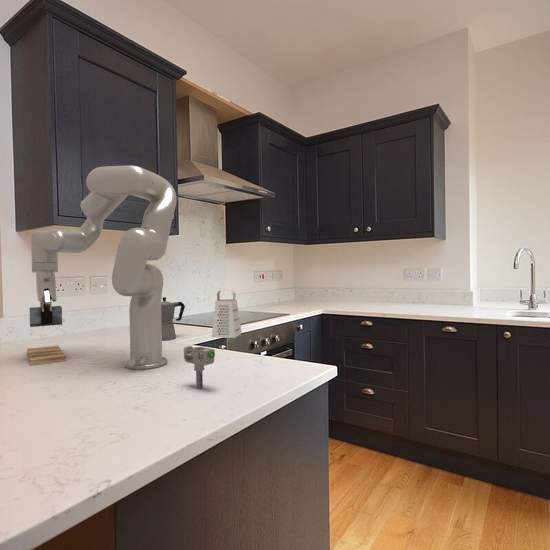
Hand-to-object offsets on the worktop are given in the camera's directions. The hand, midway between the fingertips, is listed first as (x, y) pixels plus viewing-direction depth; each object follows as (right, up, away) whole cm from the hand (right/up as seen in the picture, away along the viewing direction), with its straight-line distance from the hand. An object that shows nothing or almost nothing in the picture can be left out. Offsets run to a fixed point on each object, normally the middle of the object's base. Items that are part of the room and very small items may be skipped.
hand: (46, 322), depth 129 cm
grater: (+55, -11, +43) cm, 71 cm away
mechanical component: (+58, -13, -32) cm, 67 cm away
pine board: (-4, -13, +7) cm, 15 cm away
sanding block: (0, -1, 0) cm, 1 cm away
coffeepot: (+30, -12, +37) cm, 50 cm away
